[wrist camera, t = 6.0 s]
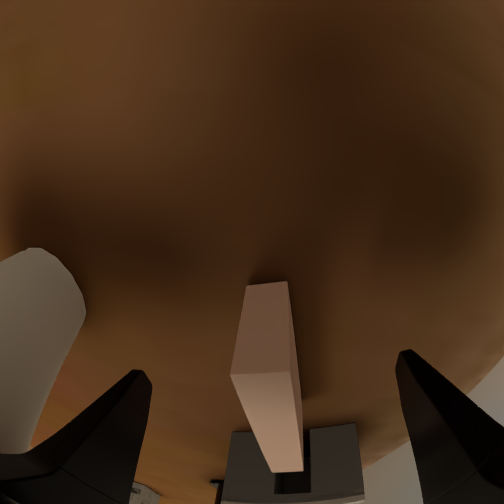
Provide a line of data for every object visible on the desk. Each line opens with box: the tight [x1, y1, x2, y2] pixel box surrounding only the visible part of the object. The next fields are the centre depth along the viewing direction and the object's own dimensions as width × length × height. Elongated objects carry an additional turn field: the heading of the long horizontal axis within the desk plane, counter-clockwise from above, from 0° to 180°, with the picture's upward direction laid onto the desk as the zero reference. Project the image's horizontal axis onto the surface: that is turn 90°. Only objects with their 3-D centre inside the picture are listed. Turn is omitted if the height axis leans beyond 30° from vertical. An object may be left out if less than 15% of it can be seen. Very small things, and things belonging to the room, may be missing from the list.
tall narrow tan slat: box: [230, 281, 303, 473], centre depth 12 cm, size 10×2×5 cm, turn 10°
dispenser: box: [221, 423, 365, 504], centre depth 17 cm, size 8×10×7 cm
